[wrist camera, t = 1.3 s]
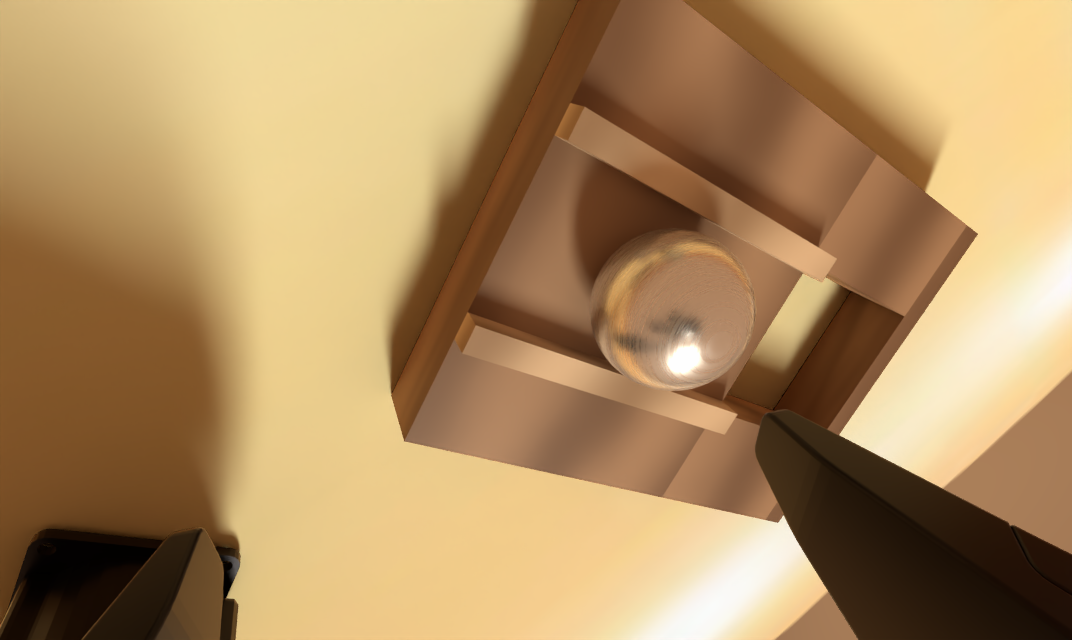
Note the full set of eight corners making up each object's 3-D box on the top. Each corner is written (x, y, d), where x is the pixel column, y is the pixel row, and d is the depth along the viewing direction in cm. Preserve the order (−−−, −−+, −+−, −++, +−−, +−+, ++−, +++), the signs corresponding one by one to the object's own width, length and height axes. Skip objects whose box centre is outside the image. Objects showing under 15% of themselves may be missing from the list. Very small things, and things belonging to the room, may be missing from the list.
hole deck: (391, 395, 23) (409, 459, 19) (591, -27, 19) (657, -39, 16) (739, 484, 32) (792, 536, 29) (917, 216, 29) (1001, 240, 25)
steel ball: (539, 322, 20) (606, 400, 16) (611, 185, 19) (703, 230, 15) (648, 361, 23) (731, 438, 18) (718, 242, 21) (823, 295, 17)
